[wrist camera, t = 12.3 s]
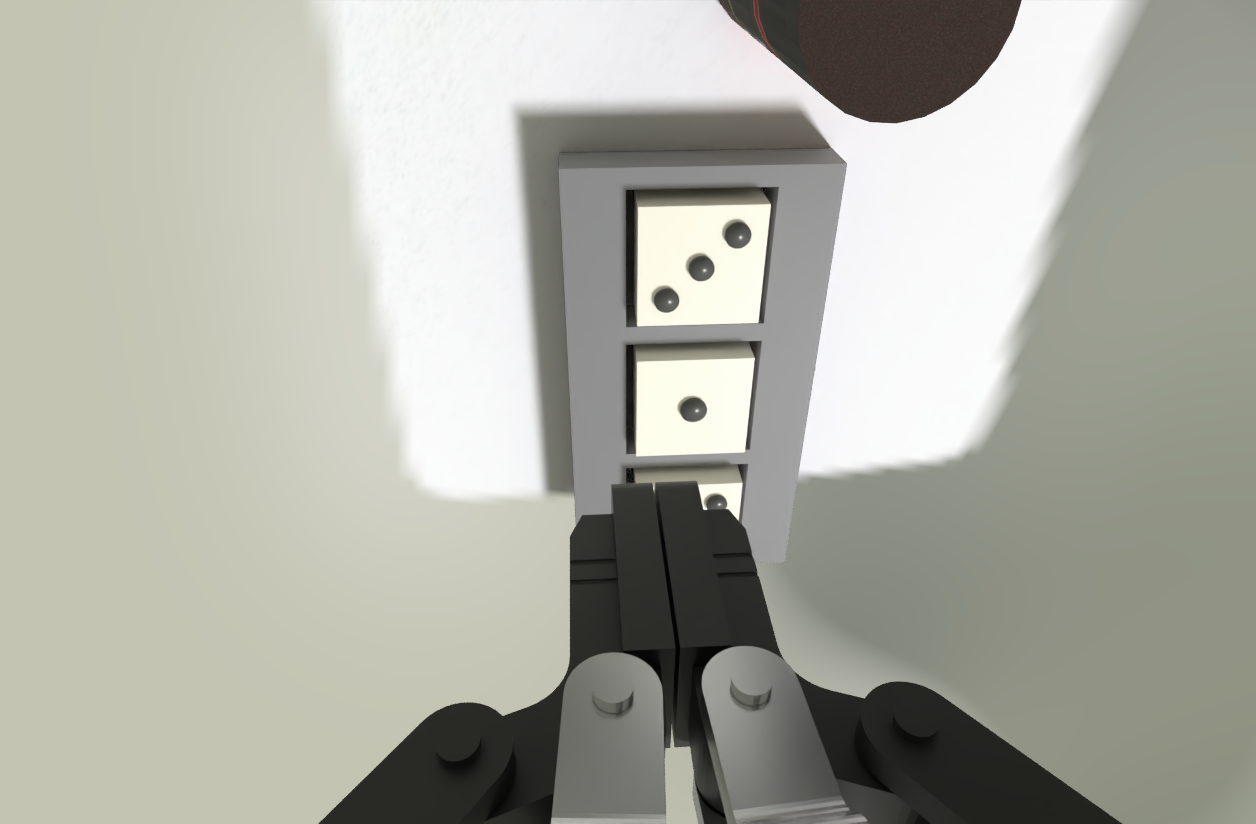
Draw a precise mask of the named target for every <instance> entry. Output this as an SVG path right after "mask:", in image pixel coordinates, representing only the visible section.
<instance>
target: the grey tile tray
mask: <svg viewBox="0 0 1256 824" xmlns="http://www.w3.org/2000/svg"><path fill="white" fill-rule="evenodd" d="M846 167H847V163H846V162H845V161H844V160H843V159H842V158H841V157H840V156H839V155H838V154H837V153H836V152H835V151H834V150H833V149H832V148H807V149H748V150H689V151H630V152H571V153H559V165H558V172H559V192H560V213H561V233H562V253H563V273H564V294H565V314H566V334H567V354H568V374H569V395H570V415H571V435H572V455H573V476H574V496H575V516H576V525H577V523H578V522H579V520H580V518H581V516H582V515H595V514H611V484H626V468H648V467H675V466H701V465H728V464H738V469H739V472H740V476H741V479H742V482H743V484H742V494H741V503H740V512H739V522H740V523H741V524H742V525H743V526H744V528H745V529H746V532H747V535H748V539H749V543H750V546H751V550H752V557H754V561H755V563H775V562H785V555H786V548H787V542H788V536H789V529H790V523H791V517H792V510H793V504H794V498H795V492H796V485H797V479H798V473H799V466H800V460H801V453H802V447H803V441H804V434H805V428H806V422H807V415H808V409H809V403H810V396H811V390H812V384H813V377H814V371H815V364H816V358H817V352H818V345H819V339H820V333H821V326H822V320H823V314H824V307H825V301H826V295H827V288H828V282H829V275H830V269H831V263H832V256H833V250H834V244H835V237H836V231H837V225H838V218H839V212H840V206H841V199H842V193H843V186H844V180H845V174H846ZM746 187H766V190H765V196H766V197H767V199H768V200H769V202H770V204H771V209H770V218H769V228H768V237H767V246H766V256H765V265H764V275H763V284H762V294H761V303H760V313H759V322H758V323H740V324H705V325H670V326H637V322H636V315H635V309H634V305H626V190H643V189H694V188H746ZM738 341H750V347H751V350H752V352H753V355H754V357H755V361H754V371H753V380H752V390H751V399H750V408H749V418H748V427H747V437H746V446H745V452H742V453H715V454H688V455H661V456H636V450H635V441H634V432H633V428H626V345H637V344H671V343H704V342H738Z"/></svg>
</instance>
